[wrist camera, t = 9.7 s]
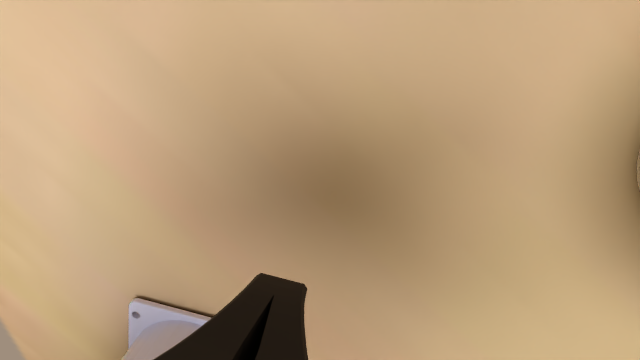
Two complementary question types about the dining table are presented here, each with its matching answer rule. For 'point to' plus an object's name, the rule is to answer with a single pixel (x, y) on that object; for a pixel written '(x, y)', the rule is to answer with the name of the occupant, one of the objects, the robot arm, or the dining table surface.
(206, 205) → the dining table surface
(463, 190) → the dining table surface
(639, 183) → the reusable coffee cup
